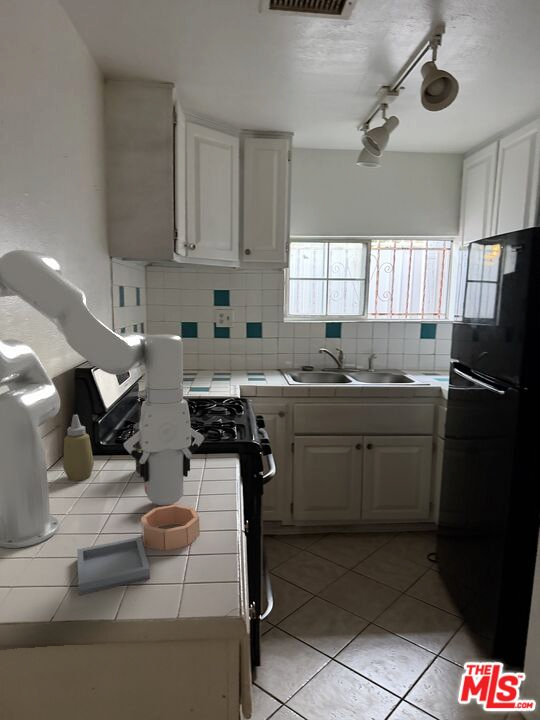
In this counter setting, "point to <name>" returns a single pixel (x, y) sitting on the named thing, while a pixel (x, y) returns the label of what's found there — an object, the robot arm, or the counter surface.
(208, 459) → the counter surface
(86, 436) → the squeeze bottle
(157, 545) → the terracotta ring
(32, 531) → the robot arm
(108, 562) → the slate tray
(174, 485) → the can
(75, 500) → the counter surface
